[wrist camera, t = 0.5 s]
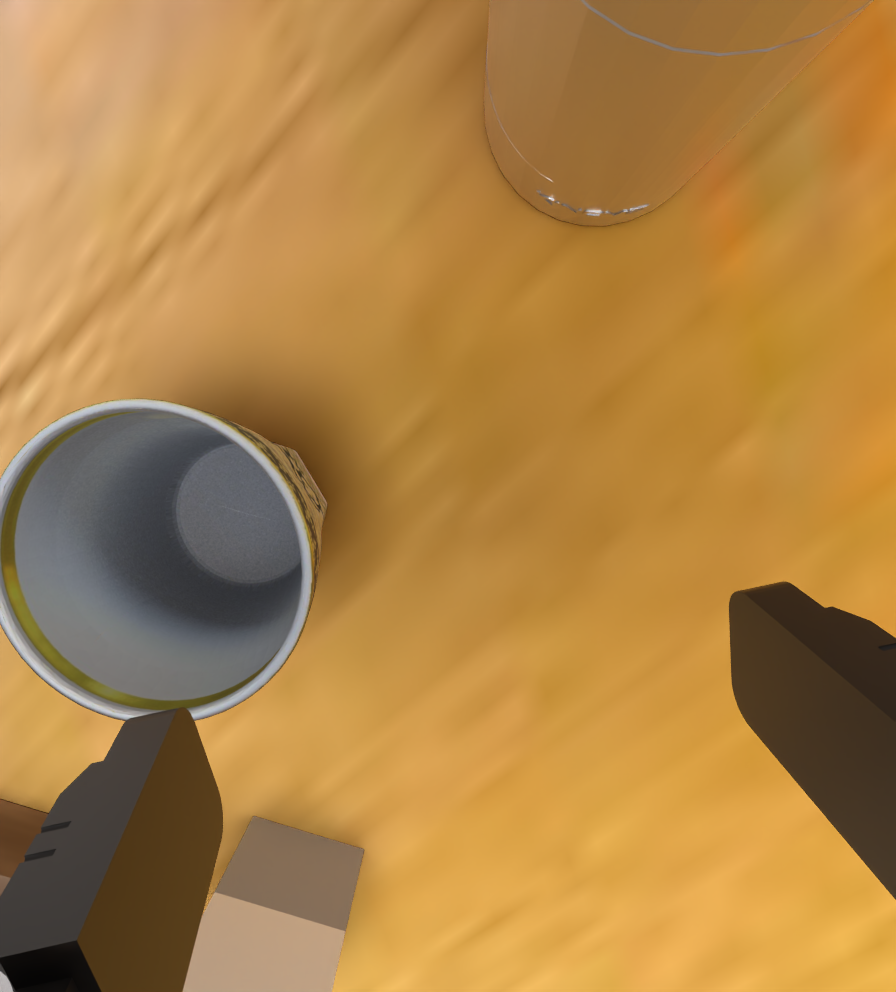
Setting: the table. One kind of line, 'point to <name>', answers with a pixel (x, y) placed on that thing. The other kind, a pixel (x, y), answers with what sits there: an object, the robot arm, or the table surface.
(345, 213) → the table surface
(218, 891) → the block
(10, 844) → the walnut stand
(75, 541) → the ceramic cup
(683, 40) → the robot arm
